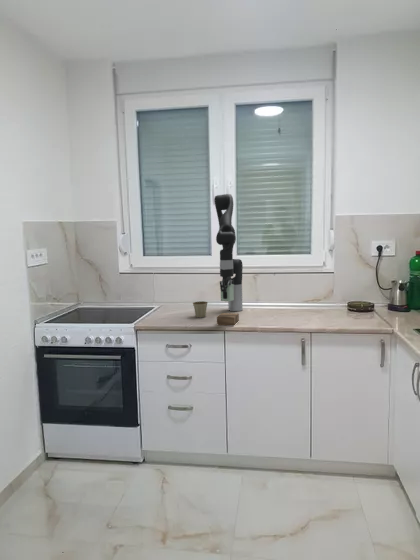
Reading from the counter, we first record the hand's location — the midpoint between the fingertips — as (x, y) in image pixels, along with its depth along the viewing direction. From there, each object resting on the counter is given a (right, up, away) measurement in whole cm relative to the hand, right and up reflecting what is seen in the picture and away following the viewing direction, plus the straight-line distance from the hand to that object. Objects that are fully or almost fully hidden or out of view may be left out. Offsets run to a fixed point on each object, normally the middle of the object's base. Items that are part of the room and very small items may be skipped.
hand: (227, 297), depth 236 cm
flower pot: (-15, -13, +21) cm, 29 cm away
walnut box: (+1, -15, +2) cm, 15 cm away
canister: (0, -1, 0) cm, 2 cm away
